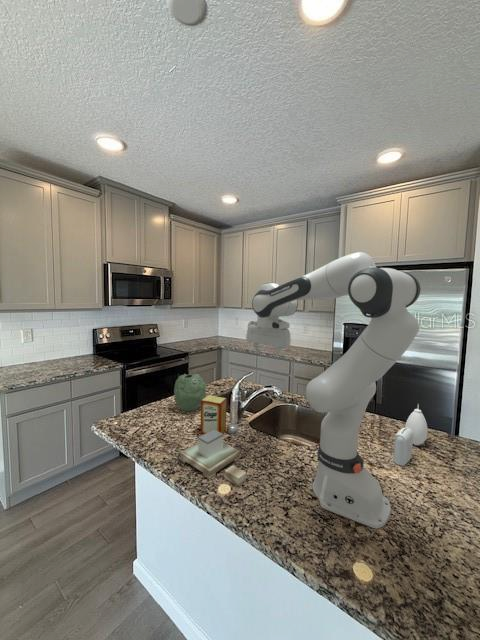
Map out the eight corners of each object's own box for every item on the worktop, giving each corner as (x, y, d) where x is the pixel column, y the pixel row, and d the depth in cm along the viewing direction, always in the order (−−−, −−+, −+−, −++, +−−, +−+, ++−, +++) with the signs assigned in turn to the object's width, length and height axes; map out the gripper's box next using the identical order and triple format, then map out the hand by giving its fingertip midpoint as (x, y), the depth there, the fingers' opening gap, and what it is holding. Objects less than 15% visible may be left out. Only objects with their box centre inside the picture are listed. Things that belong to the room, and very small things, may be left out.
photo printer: (400, 452, 110) (403, 423, 109) (412, 457, 107) (415, 427, 106) (391, 462, 103) (393, 431, 102) (404, 468, 100) (406, 435, 99)
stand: (240, 458, 103) (240, 450, 103) (209, 479, 91) (209, 470, 90) (210, 443, 113) (210, 435, 113) (179, 460, 101) (179, 451, 101)
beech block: (246, 481, 91) (246, 472, 91) (238, 487, 88) (238, 478, 88) (232, 473, 95) (232, 465, 94) (224, 478, 92) (225, 470, 91)
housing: (207, 458, 97) (207, 442, 96) (198, 452, 100) (198, 437, 100) (222, 449, 103) (223, 433, 103) (213, 444, 106) (213, 429, 106)
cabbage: (182, 402, 156) (182, 368, 154) (211, 407, 149) (212, 372, 147) (165, 412, 141) (165, 375, 139) (197, 419, 135) (198, 380, 133)
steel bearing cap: (239, 432, 123) (240, 425, 123) (232, 436, 120) (232, 429, 119) (231, 428, 127) (232, 422, 126) (224, 432, 123) (224, 425, 123)
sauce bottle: (411, 438, 122) (414, 399, 120) (430, 446, 115) (433, 405, 113) (400, 441, 118) (403, 401, 117) (418, 451, 111) (422, 408, 110)
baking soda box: (225, 431, 123) (226, 397, 122) (220, 438, 117) (220, 402, 116) (206, 427, 126) (207, 394, 125) (200, 434, 120) (201, 399, 119)
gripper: (243, 321, 116) (242, 352, 118) (285, 325, 103) (283, 360, 105) (252, 320, 121) (251, 350, 122) (293, 324, 108) (291, 358, 109)
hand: (266, 355), depth 113 cm, fingers open, 8 cm apart
